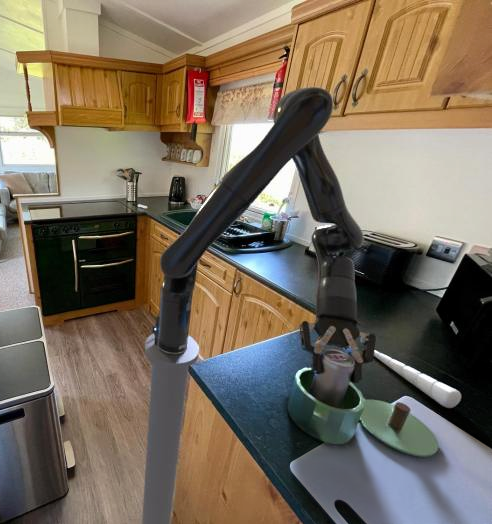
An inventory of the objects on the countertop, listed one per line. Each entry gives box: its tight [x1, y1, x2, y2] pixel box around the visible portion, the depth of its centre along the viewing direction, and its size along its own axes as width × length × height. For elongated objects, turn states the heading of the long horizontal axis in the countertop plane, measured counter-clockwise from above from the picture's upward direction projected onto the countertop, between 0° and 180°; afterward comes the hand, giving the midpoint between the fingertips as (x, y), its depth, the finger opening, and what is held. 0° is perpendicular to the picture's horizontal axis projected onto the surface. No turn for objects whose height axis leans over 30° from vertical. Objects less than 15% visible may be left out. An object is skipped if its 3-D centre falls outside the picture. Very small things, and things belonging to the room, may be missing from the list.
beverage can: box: [309, 347, 355, 409], centre depth 61 cm, size 6×6×15 cm
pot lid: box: [359, 399, 439, 458], centre depth 61 cm, size 14×14×6 cm
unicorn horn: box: [374, 349, 462, 409], centre depth 78 cm, size 5×24×5 cm, turn 6°
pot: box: [287, 367, 366, 445], centre depth 63 cm, size 13×18×8 cm
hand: (335, 377), depth 59 cm, fingers closed on beverage can, 6 cm apart
